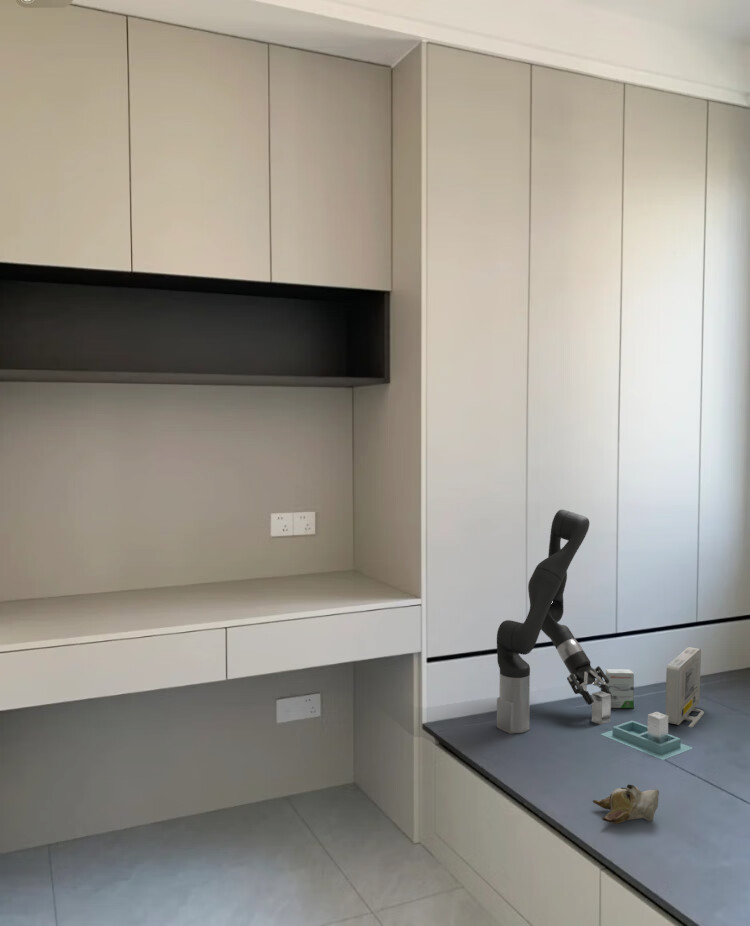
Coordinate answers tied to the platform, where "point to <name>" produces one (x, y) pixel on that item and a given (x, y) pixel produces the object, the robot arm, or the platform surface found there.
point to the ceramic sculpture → (629, 804)
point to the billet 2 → (657, 727)
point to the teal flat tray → (645, 740)
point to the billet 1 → (601, 707)
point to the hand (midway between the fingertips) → (600, 700)
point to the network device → (683, 687)
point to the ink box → (621, 687)
